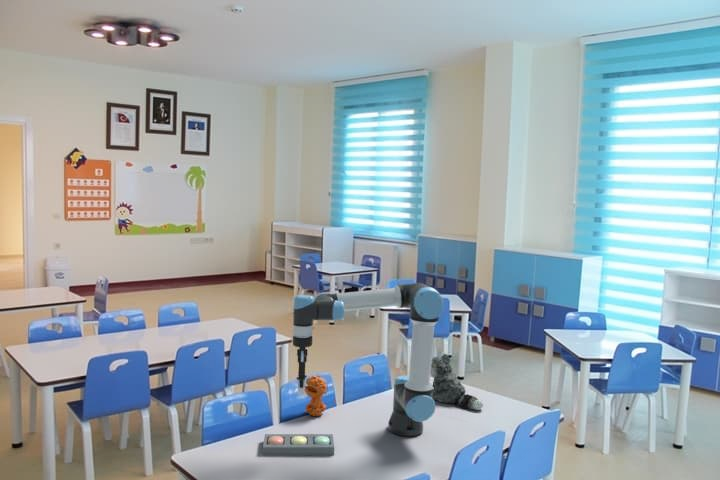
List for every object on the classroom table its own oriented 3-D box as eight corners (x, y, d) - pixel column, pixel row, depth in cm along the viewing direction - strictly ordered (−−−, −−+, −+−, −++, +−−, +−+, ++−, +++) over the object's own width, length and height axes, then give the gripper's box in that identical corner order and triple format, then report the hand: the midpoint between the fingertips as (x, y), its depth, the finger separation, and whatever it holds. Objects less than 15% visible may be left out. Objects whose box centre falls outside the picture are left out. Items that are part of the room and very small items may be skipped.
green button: (329, 449, 229) (329, 442, 228) (314, 449, 228) (314, 442, 228) (328, 442, 234) (329, 436, 234) (313, 442, 234) (314, 436, 234)
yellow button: (306, 449, 228) (306, 442, 227) (290, 449, 227) (291, 442, 227) (306, 442, 234) (306, 436, 233) (291, 442, 233) (291, 436, 233)
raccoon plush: (432, 389, 306) (434, 349, 305) (490, 402, 290) (493, 361, 289) (420, 397, 293) (422, 356, 292) (480, 412, 277) (483, 368, 275)
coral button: (283, 449, 227) (283, 442, 226) (267, 449, 226) (267, 442, 226) (283, 442, 233) (283, 436, 232) (268, 442, 232) (268, 436, 232)
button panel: (334, 454, 226) (334, 447, 226) (262, 454, 223) (262, 447, 223) (332, 441, 238) (332, 434, 237) (264, 441, 235) (264, 434, 235)
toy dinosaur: (302, 408, 271) (304, 370, 270) (326, 409, 272) (327, 371, 271) (302, 418, 260) (303, 378, 259) (327, 418, 261) (328, 379, 260)
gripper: (312, 339, 220) (310, 400, 222) (312, 331, 233) (310, 389, 235) (292, 339, 220) (291, 400, 222) (293, 331, 233) (291, 389, 235)
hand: (301, 394), depth 229 cm, fingers closed
